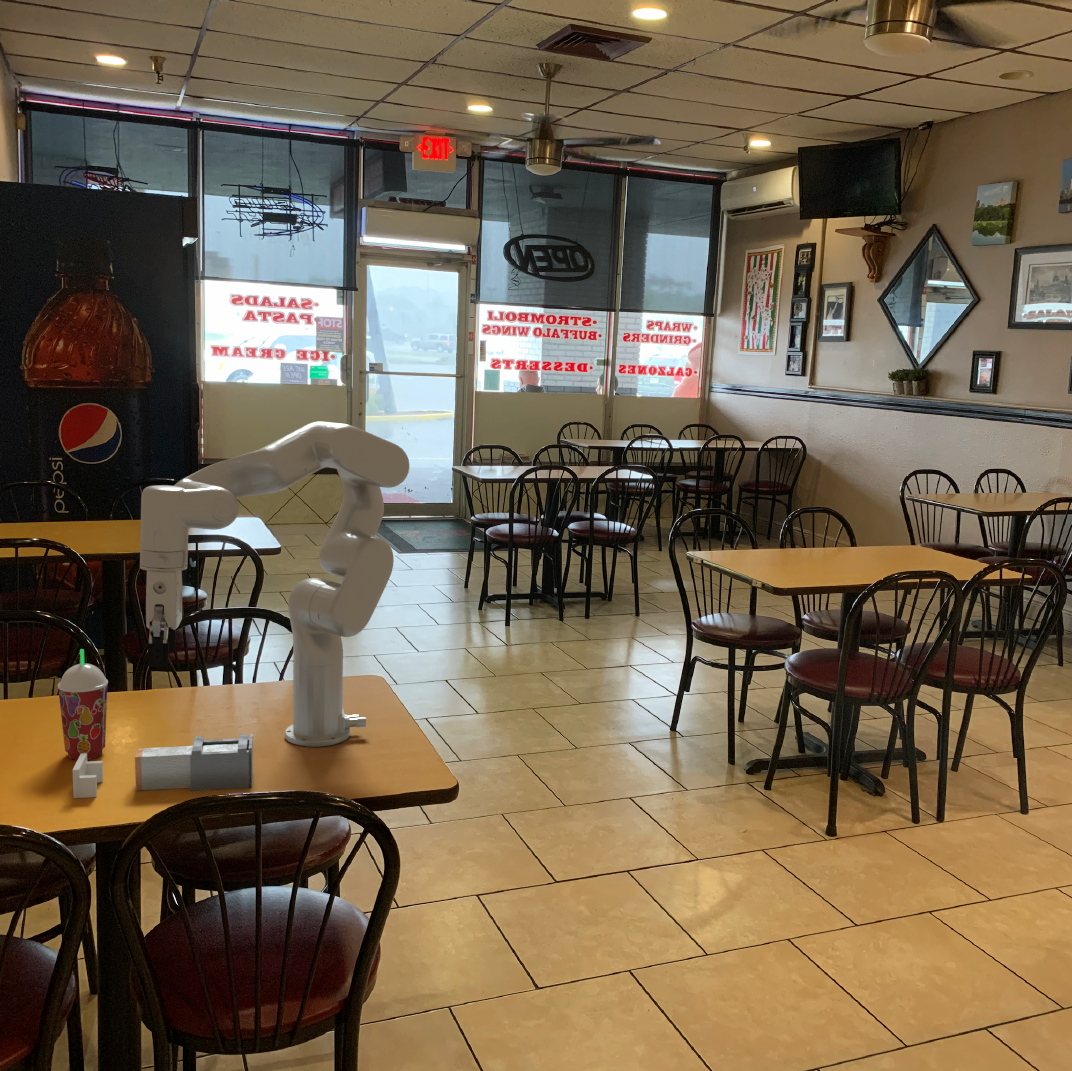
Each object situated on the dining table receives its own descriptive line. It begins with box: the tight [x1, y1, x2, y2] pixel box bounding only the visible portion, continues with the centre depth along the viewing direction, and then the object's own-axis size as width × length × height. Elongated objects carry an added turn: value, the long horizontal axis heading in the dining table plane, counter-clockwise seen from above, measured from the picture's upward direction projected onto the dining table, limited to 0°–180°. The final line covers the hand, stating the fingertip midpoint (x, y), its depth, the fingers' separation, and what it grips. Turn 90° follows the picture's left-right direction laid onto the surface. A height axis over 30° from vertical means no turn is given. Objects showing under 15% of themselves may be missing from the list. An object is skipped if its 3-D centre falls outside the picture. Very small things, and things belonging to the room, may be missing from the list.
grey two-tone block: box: [134, 744, 238, 791], centre depth 177 cm, size 18×4×6 cm, turn 104°
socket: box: [72, 753, 104, 799], centre depth 173 cm, size 4×7×5 cm, turn 14°
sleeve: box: [190, 733, 254, 792], centre depth 178 cm, size 10×7×7 cm
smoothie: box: [57, 648, 109, 761], centre depth 186 cm, size 8×8×20 cm
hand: (161, 658), depth 174 cm, fingers open, 9 cm apart
